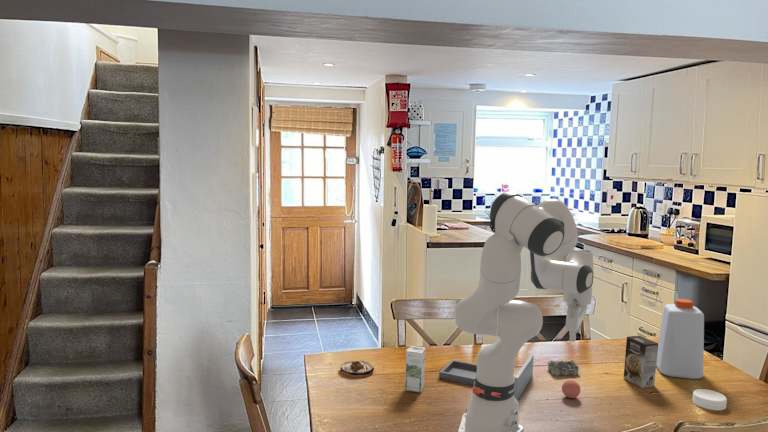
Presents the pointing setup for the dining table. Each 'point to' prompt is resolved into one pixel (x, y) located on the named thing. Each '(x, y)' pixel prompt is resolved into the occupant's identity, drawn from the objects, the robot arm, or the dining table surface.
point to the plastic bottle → (681, 341)
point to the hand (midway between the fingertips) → (574, 336)
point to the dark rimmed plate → (357, 369)
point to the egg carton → (563, 368)
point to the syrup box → (415, 369)
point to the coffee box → (640, 361)
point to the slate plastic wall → (523, 377)
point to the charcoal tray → (459, 372)
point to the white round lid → (709, 399)
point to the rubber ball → (571, 389)
